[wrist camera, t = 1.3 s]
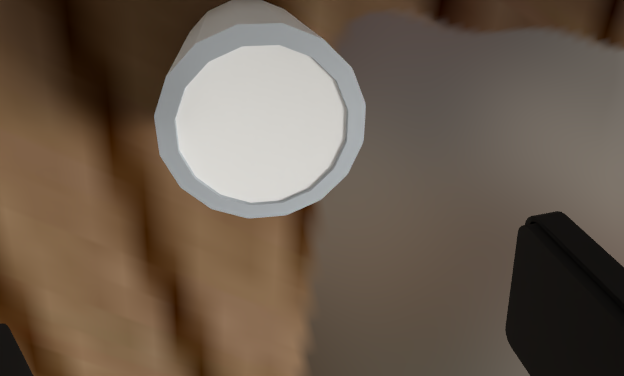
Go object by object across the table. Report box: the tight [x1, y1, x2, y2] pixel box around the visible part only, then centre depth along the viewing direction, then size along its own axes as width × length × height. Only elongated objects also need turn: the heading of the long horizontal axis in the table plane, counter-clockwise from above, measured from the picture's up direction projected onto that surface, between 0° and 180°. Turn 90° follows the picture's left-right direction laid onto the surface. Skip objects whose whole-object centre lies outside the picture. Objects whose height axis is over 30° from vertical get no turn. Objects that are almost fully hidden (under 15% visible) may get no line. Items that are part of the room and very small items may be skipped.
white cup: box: [154, 0, 366, 218], centre depth 21 cm, size 7×7×7 cm
